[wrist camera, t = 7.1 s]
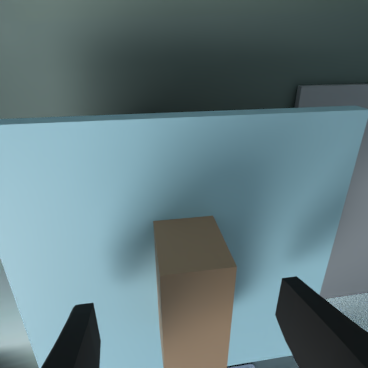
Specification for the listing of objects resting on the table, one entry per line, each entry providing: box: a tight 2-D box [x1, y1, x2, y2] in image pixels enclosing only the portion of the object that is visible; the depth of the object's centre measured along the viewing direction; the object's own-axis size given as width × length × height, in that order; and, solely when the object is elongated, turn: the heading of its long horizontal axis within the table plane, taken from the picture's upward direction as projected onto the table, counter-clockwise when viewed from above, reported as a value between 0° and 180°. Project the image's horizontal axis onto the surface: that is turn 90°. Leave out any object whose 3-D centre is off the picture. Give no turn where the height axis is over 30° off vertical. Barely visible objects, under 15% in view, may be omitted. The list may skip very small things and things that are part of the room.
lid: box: [0, 106, 368, 368], centre depth 12 cm, size 14×14×4 cm
